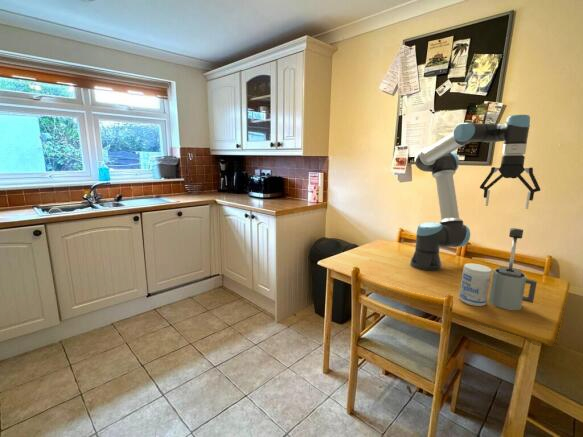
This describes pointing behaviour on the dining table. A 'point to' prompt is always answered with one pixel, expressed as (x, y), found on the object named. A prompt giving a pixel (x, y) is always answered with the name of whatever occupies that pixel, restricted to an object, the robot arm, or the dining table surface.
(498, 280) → the press carafe
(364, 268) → the dining table surface
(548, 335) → the dining table surface
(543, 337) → the dining table surface
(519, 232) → the plunger
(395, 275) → the dining table surface
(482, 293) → the supplement tub
